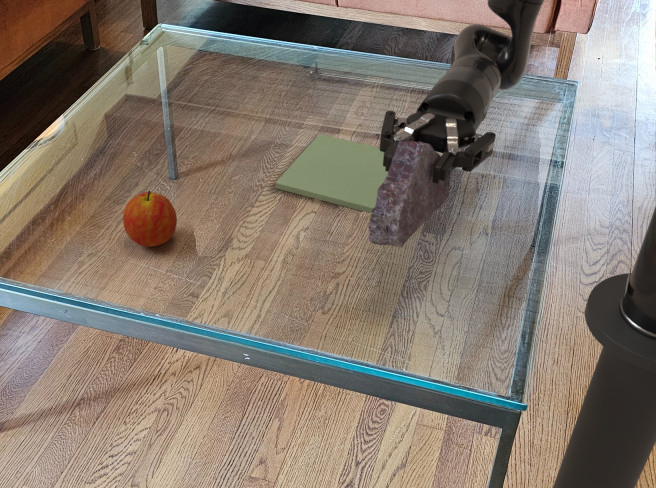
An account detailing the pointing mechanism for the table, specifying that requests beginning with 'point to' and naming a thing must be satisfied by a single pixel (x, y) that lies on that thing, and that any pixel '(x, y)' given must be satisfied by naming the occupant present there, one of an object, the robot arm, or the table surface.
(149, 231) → the fruit
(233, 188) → the table surface
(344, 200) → the mat
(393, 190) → the stone
